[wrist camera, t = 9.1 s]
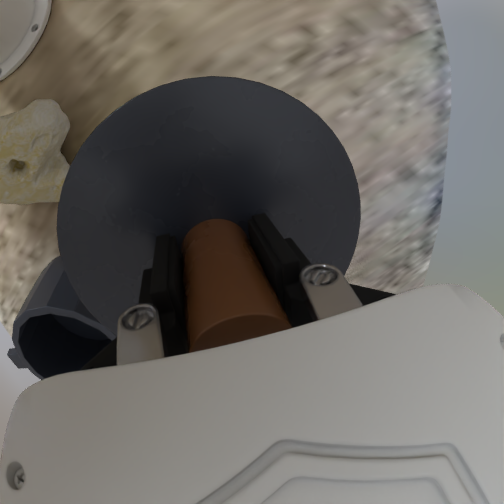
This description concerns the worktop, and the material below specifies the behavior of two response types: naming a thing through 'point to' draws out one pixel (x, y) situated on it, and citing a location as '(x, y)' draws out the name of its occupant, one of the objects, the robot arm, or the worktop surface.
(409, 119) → the worktop surface
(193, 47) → the worktop surface
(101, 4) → the worktop surface
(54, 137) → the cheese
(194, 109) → the lid
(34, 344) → the pot
